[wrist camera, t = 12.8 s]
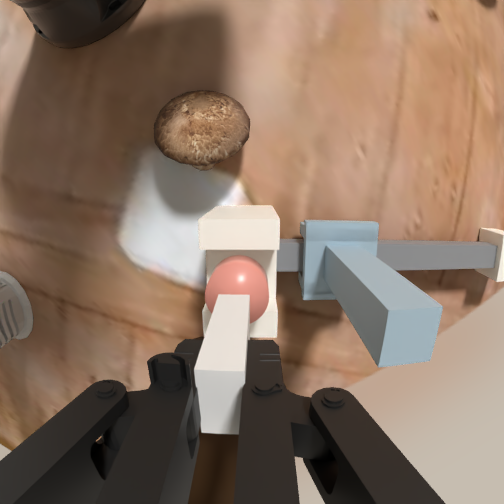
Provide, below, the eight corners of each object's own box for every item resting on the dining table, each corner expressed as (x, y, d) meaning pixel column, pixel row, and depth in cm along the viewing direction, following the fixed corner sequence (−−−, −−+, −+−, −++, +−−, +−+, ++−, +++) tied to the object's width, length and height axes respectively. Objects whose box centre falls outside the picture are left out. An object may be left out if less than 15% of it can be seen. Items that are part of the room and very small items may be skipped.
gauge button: (212, 308, 21) (206, 325, 18) (209, 255, 20) (203, 265, 17) (267, 309, 21) (268, 326, 18) (268, 255, 20) (269, 266, 17)
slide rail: (219, 288, 31) (203, 336, 21) (217, 205, 29) (198, 219, 20) (489, 281, 31) (541, 311, 21) (497, 216, 29) (556, 231, 19)
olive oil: (173, 404, 35) (114, 587, 10) (161, 328, 32) (48, 532, 8) (261, 408, 34) (263, 608, 10) (262, 330, 32) (268, 576, 8)
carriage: (298, 285, 29) (338, 401, 13) (300, 216, 28) (357, 268, 12) (359, 284, 29) (446, 385, 13) (364, 217, 28) (475, 266, 12)
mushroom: (205, 206, 26) (194, 156, 20) (146, 161, 28) (128, 114, 23) (266, 150, 29) (269, 99, 23) (206, 115, 31) (199, 67, 25)
